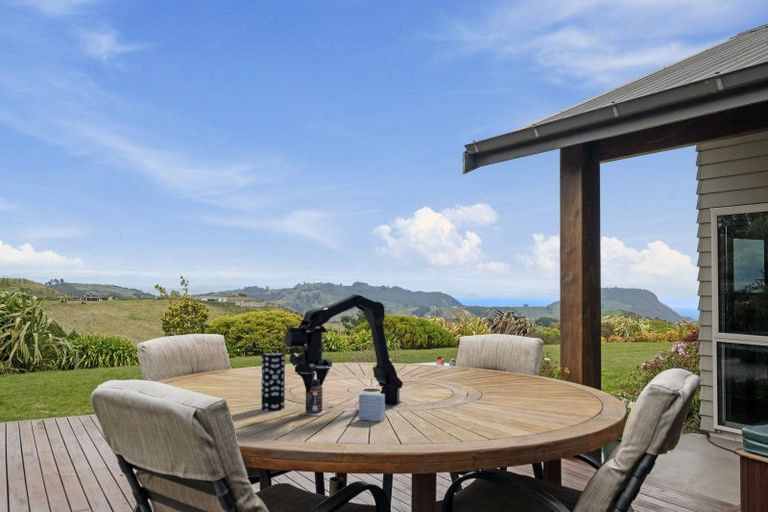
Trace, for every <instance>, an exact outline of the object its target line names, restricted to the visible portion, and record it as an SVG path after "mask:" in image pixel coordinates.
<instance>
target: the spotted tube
mask: <svg viewBox="0 0 768 512" xmlns="http://www.w3.org/2000/svg"><path fill="white" fill-rule="evenodd" d="M285 361H286V353H285V352H266V353H261V411H266V412H267V411H268V412H276V411H277V410H278V411H283V410H285V407H286V406H285V403H286V402H285V396H286V395H285V393H286V392H285V391H286V389H285V386H286V385H285V383H286V382H285V381H286V380H285V379H286V375H285V374H286V362H285ZM282 409H283V410H282Z"/></svg>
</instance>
